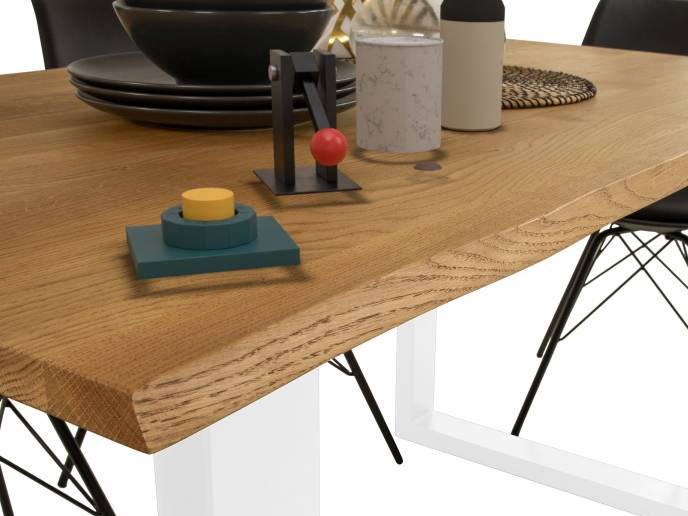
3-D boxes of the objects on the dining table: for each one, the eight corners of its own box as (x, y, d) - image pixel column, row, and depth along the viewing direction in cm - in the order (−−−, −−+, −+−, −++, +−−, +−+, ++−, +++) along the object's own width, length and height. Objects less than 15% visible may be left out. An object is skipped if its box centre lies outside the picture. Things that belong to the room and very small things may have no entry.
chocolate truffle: (438, 173, 103) (438, 158, 103) (445, 180, 100) (446, 164, 100) (409, 174, 102) (409, 159, 102) (416, 181, 100) (417, 165, 99)
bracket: (362, 200, 92) (361, 57, 88) (275, 206, 89) (270, 59, 85) (333, 176, 101) (330, 45, 96) (253, 181, 98) (247, 46, 94)
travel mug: (464, 134, 123) (469, -20, 117) (425, 124, 129) (427, -23, 123) (513, 128, 128) (519, -21, 122) (473, 118, 134) (477, -24, 127)
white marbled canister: (449, 161, 109) (452, 44, 104) (361, 162, 107) (360, 44, 103) (432, 143, 117) (434, 35, 113) (350, 144, 116) (349, 34, 111)
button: (186, 226, 70) (185, 201, 69) (179, 213, 73) (178, 189, 72) (238, 221, 71) (237, 197, 71) (229, 209, 74) (228, 186, 74)
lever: (349, 172, 86) (354, 144, 84) (312, 174, 85) (317, 146, 83) (314, 76, 94) (318, 47, 91) (280, 77, 93) (283, 48, 90)
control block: (139, 293, 67) (134, 236, 66) (127, 254, 75) (123, 203, 74) (300, 277, 71) (299, 222, 70) (273, 242, 79) (271, 192, 78)
